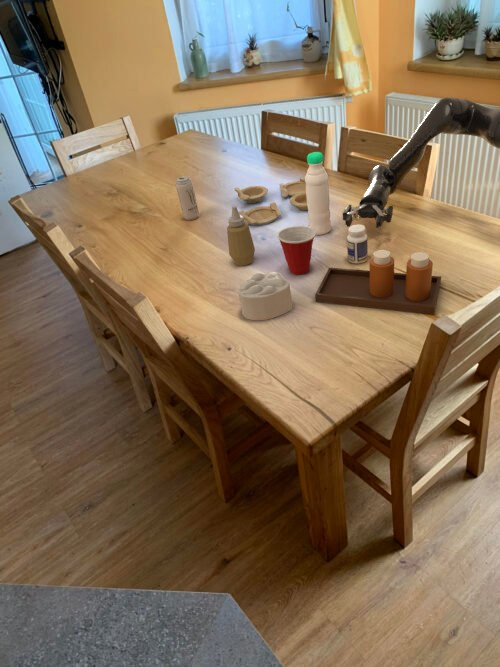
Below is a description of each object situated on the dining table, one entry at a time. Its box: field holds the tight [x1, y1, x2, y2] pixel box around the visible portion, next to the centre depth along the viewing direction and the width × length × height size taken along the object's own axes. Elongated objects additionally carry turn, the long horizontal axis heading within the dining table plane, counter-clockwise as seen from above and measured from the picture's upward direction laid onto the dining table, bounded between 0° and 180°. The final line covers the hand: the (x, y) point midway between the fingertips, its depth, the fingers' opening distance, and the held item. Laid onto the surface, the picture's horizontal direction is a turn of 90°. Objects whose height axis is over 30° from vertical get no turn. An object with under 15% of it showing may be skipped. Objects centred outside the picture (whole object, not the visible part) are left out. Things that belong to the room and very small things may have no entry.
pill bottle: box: [346, 224, 369, 264], centre depth 141 cm, size 6×6×10 cm
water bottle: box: [304, 151, 332, 236], centre depth 154 cm, size 7×7×25 cm
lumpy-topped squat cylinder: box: [238, 271, 293, 321], centre depth 129 cm, size 10×13×9 cm
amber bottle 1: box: [369, 249, 395, 297], centre depth 126 cm, size 6×6×11 cm
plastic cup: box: [276, 225, 317, 276], centre depth 141 cm, size 11×11×12 cm
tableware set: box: [234, 177, 308, 226], centre depth 182 cm, size 35×29×4 cm
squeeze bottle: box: [226, 205, 256, 266], centre depth 148 cm, size 8×8×18 cm
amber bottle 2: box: [405, 251, 434, 301], centre depth 122 cm, size 6×6×11 cm
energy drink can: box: [175, 175, 200, 221], centre depth 180 cm, size 6×6×15 cm
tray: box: [314, 267, 442, 316], centre depth 129 cm, size 30×14×2 cm, turn 67°
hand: (362, 224), depth 144 cm, fingers open, 8 cm apart
